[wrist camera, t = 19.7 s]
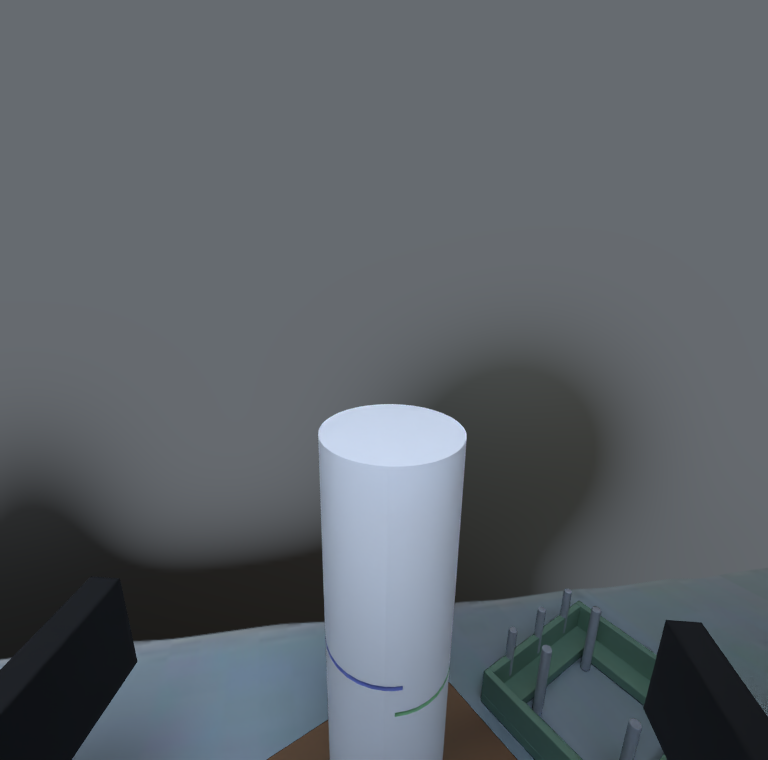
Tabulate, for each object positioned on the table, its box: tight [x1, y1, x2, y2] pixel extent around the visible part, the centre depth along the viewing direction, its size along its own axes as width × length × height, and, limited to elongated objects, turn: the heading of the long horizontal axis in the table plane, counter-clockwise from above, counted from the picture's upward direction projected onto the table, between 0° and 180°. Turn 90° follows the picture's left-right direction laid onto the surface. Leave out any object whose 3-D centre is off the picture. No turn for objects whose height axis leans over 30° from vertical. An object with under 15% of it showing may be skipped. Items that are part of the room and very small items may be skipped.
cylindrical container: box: [318, 404, 467, 760], centre depth 26 cm, size 7×7×25 cm
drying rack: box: [481, 588, 667, 760], centre depth 37 cm, size 14×14×7 cm
